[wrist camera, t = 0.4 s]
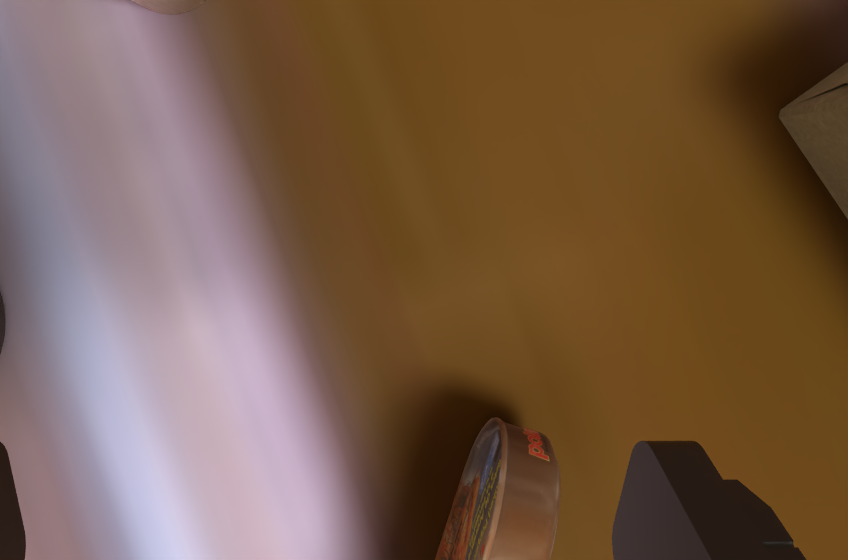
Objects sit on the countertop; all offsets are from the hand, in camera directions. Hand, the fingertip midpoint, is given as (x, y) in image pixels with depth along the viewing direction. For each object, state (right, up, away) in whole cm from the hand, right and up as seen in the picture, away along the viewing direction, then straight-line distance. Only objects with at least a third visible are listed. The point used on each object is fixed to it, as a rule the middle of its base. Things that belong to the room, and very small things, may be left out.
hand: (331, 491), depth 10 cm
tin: (+3, -10, +27) cm, 29 cm away
